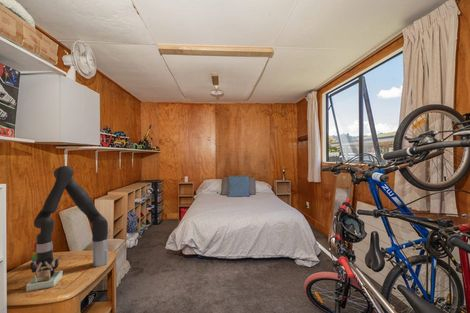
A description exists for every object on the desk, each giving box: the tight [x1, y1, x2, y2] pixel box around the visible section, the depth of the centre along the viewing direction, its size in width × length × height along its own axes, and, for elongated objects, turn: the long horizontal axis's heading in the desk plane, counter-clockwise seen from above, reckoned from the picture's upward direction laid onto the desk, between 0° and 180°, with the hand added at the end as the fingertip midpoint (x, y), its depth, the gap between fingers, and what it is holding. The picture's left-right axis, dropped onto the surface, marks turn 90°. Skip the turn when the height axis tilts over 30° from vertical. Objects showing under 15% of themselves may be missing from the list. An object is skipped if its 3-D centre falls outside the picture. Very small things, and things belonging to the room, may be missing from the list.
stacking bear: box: [31, 240, 54, 269], centre depth 160 cm, size 11×10×18 cm
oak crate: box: [37, 266, 54, 283], centre depth 136 cm, size 6×6×6 cm
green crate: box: [25, 269, 64, 293], centre depth 136 cm, size 13×13×4 cm
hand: (45, 277), depth 136 cm, fingers closed on oak crate, 5 cm apart
